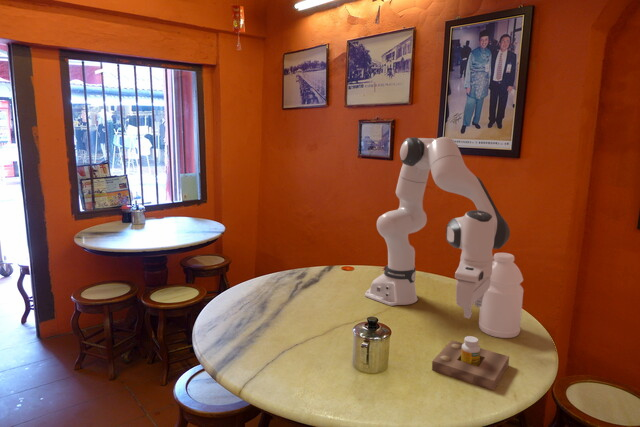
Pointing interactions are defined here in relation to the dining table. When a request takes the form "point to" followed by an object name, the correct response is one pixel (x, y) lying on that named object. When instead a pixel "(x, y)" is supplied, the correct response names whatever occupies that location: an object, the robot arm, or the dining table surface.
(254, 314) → the dining table surface
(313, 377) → the dining table surface
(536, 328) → the dining table surface
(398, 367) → the dining table surface
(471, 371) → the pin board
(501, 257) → the bottle
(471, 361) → the supplement bottle
